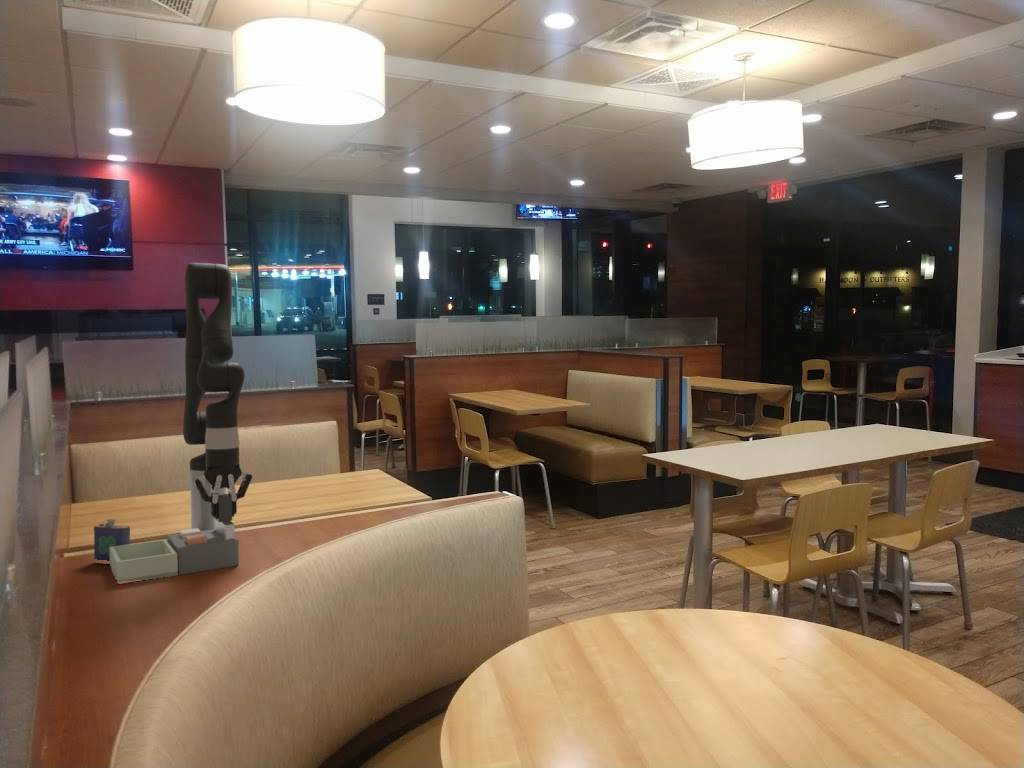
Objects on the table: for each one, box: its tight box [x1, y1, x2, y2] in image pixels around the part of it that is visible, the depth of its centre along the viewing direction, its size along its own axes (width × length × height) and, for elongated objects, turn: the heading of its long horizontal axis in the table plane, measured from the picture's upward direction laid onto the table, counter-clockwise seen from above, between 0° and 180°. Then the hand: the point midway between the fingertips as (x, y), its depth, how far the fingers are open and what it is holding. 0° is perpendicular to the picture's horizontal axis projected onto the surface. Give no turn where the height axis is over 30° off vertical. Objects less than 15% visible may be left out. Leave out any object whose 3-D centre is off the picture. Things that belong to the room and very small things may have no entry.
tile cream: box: [179, 528, 201, 539], centre depth 179 cm, size 4×4×1 cm
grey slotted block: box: [166, 529, 240, 576], centre depth 177 cm, size 14×13×6 cm
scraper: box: [214, 493, 236, 540], centre depth 180 cm, size 12×3×10 cm, turn 34°
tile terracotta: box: [185, 534, 207, 545], centre depth 173 cm, size 4×4×1 cm
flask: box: [93, 518, 131, 561], centre depth 177 cm, size 9×3×11 cm, turn 78°
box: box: [109, 539, 179, 583], centre depth 170 cm, size 15×12×5 cm
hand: (223, 516), depth 180 cm, fingers closed on scraper, 3 cm apart
